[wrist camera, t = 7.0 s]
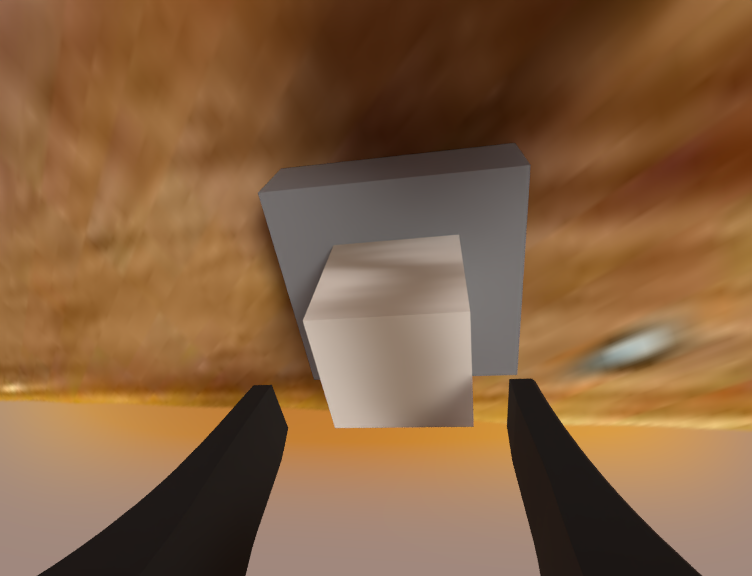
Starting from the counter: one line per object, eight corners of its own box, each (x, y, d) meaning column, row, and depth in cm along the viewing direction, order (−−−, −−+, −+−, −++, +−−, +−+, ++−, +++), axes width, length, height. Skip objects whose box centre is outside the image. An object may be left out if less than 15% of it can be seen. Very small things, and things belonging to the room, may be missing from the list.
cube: (354, 339, 19) (335, 428, 15) (333, 245, 17) (302, 320, 13) (463, 335, 19) (473, 426, 14) (458, 234, 16) (470, 311, 12)
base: (326, 341, 24) (314, 379, 21) (280, 168, 18) (258, 192, 16) (506, 334, 22) (516, 374, 20) (514, 142, 17) (530, 164, 14)
